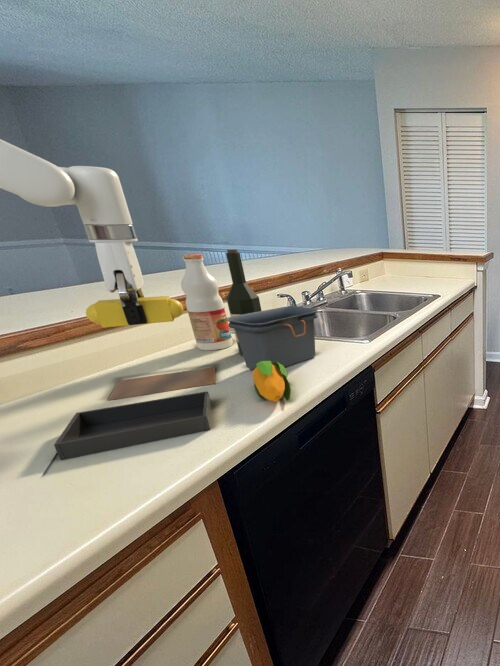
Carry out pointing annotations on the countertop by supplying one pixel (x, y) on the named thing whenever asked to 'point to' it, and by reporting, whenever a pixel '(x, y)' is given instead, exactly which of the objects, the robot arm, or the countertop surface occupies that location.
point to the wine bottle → (240, 290)
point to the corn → (271, 381)
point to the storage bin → (276, 335)
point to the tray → (134, 424)
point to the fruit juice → (205, 305)
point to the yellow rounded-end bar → (154, 307)
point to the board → (163, 383)
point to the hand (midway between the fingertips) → (139, 320)
